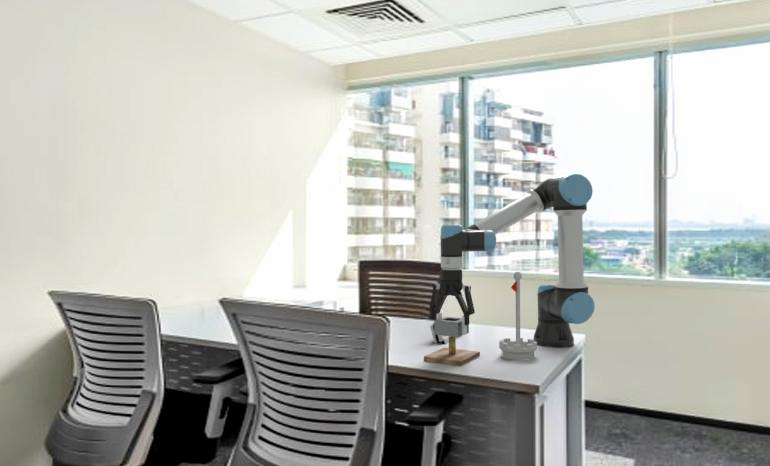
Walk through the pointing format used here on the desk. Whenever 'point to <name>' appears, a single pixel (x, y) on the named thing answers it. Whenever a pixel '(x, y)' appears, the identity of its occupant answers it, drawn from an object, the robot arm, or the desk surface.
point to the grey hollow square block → (449, 326)
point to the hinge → (440, 336)
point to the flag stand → (517, 334)
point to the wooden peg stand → (452, 355)
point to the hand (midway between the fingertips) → (451, 333)
